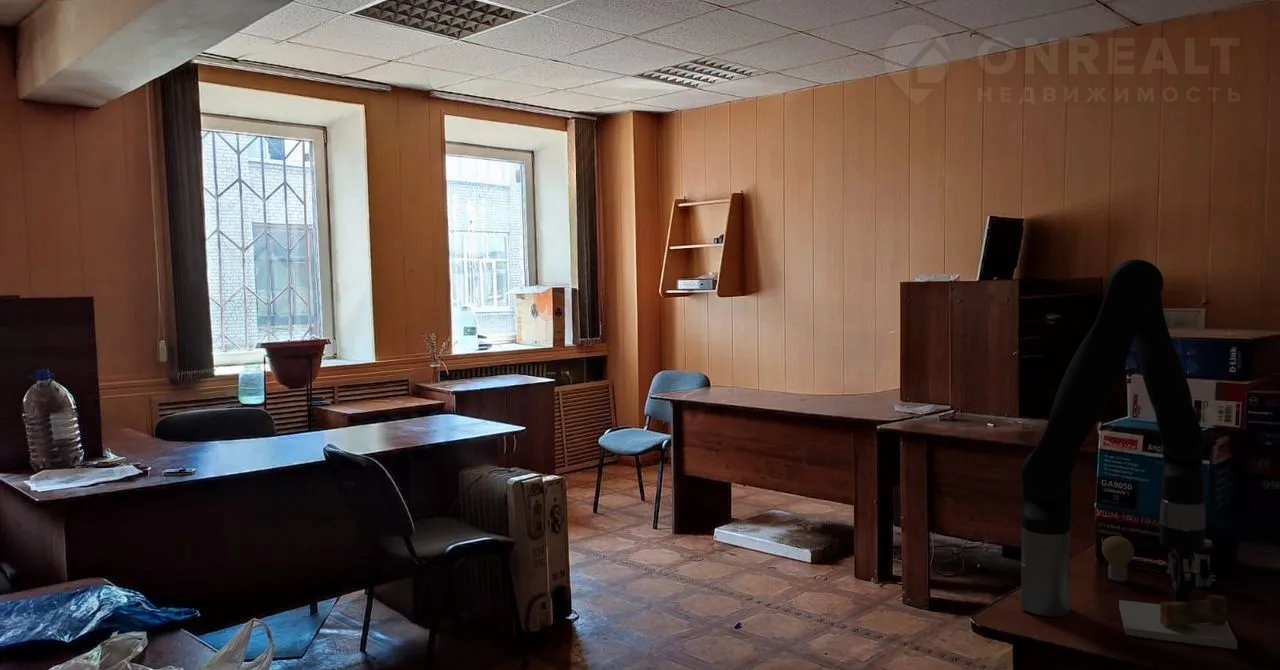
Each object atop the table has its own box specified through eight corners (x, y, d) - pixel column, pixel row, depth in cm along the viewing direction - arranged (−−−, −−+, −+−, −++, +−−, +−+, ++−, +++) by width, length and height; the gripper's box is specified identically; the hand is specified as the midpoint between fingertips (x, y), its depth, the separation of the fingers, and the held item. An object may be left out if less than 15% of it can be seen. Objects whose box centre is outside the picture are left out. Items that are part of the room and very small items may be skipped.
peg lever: (1218, 617, 171) (1218, 594, 170) (1230, 624, 168) (1230, 600, 167) (1157, 621, 170) (1158, 597, 170) (1168, 628, 167) (1169, 604, 166)
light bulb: (1095, 576, 200) (1095, 533, 199) (1121, 574, 201) (1121, 531, 200) (1113, 586, 194) (1113, 542, 193) (1140, 584, 194) (1140, 540, 194)
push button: (1203, 578, 197) (1204, 534, 196) (1226, 586, 192) (1227, 541, 191) (1181, 582, 194) (1182, 538, 194) (1204, 590, 189) (1205, 545, 189)
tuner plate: (1125, 635, 169) (1125, 627, 168) (1119, 607, 182) (1119, 599, 182) (1237, 649, 161) (1237, 640, 161) (1221, 618, 175) (1221, 610, 175)
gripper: (1154, 511, 177) (1153, 594, 179) (1165, 531, 165) (1164, 619, 167) (1197, 514, 175) (1196, 598, 176) (1212, 534, 162) (1210, 624, 164)
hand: (1181, 608), depth 171 cm, fingers closed
